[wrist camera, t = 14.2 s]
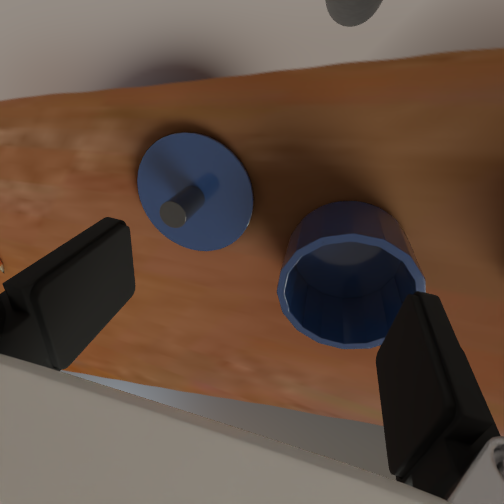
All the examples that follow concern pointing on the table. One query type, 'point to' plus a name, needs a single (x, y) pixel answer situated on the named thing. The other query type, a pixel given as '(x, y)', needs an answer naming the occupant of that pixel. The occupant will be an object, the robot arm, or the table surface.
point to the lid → (195, 191)
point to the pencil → (1, 266)
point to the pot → (347, 275)
